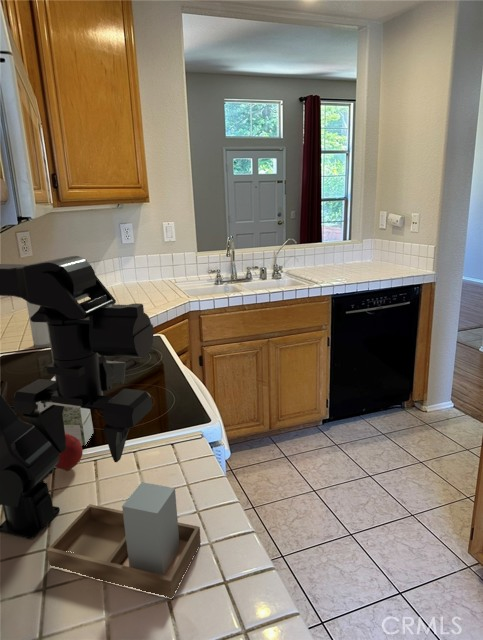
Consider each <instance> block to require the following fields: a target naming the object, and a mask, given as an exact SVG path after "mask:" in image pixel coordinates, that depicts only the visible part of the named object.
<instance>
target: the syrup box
mask: <svg viewBox="0 0 483 640" xmlns="http://www.w3.org/2000/svg"><path fill="white" fill-rule="evenodd" d="M50 380H53V381H56V379H55V375H54V376H53V377H52V378H51V379H50ZM63 422H64V429H65V433H67V434H70V435H72V436H74V437H76V438H77V439H78V440H79V441H80V443H81V445H82V446H83V445H84V446H85V445H86V444H87V442H88V441H89V442H90V440H91V439H90V438H92V437H93V435H94V426H93V425H94V424H93V420H92V414H91V409H86V408H74V407H67V406H64V410H63ZM92 434H93V435H92ZM91 436H92V437H91ZM89 439H90V440H89ZM89 442H88V443H89ZM87 445H88V444H87ZM87 445H86V446H87Z"/></svg>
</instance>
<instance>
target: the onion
mask: <svg viewBox="0 0 483 640" xmlns="http://www.w3.org/2000/svg"><path fill="white" fill-rule="evenodd" d="M65 437H66V450H65V451H63V452H62V453H60V454H59V455H60V456H59V462H58V464H57V465H56V466H55V467H54V468H57V469H60V470H63V471H67V472H68V471H70V470H72V469H73V468H74V467H76V466H77V465H78V463H80V461H81V460H82V457H83V447H82V445H81V443H80V441H79V440H78V439H77V438H76V437H74V436H72V435H70V434H67V433H65Z"/></svg>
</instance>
